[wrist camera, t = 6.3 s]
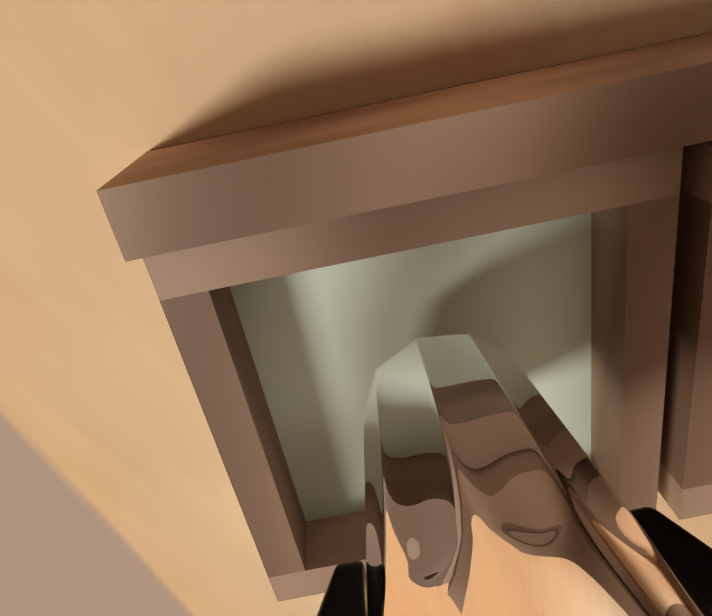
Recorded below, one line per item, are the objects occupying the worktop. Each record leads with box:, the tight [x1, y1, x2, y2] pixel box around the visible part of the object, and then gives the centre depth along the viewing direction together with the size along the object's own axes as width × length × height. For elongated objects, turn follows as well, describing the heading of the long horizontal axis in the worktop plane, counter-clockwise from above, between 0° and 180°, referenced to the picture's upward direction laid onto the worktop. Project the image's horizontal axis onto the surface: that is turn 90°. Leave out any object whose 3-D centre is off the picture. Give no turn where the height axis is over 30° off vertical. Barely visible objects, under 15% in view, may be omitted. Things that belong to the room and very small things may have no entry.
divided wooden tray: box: [97, 33, 712, 601], centre depth 12 cm, size 19×11×3 cm, turn 101°
